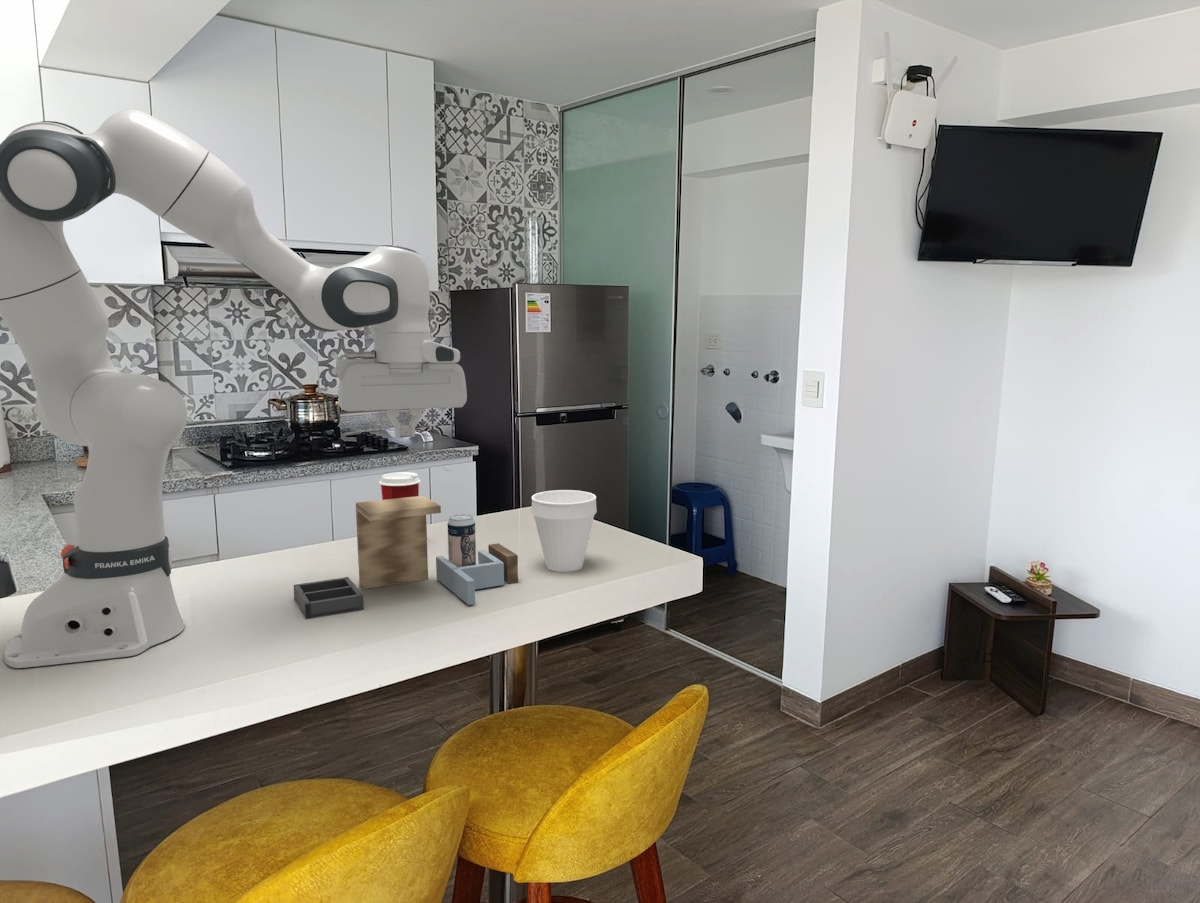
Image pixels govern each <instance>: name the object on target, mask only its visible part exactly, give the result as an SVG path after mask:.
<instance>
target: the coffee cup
mask: <svg viewBox="0 0 1200 903" xmlns="http://www.w3.org/2000/svg"><path fill="white" fill-rule="evenodd" d="M420 483H421V479H420V478H419V474H418V473H416V472H409V471H397V472H389V473H385V474H383V475H381V477H380V480H379V481H378V484H379V485H380V489H381V500H387V499H396V498H406V497H416V496H420V495H419V491H420V489H419V488H420V486H419V485H420Z"/></svg>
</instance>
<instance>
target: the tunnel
mask: <svg viewBox="0 0 1200 903" xmlns="http://www.w3.org/2000/svg"><path fill="white" fill-rule="evenodd" d="M441 507H442V506H441V505H439V504H438V503H436V502H435V501H433V500H431V499H430V498H429V497H426V496H425V495H419V496H416V497H406V498H396V499H387V500H382V499H378V500H377V499H376V500H370V501H369V500H367V501H360V502H355V516H356V517H355V518H356V522H355V523H356V538H357V540H356V541H357V559H358V560H357V561H358V562H357V563H358V565H357V566H358V583H359V590H366V589H372V588H378V587H385V586H392V585H397V584H405V583H410V582H418V581H424V580H425V581H426V580H429V562H428V558H429V557H428V535H427V534H428V531H427V530H428V529H427V516H428V515H432V514H433V515H434V514H442V512H441V510H442V509H441Z"/></svg>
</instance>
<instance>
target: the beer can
mask: <svg viewBox="0 0 1200 903" xmlns="http://www.w3.org/2000/svg"><path fill="white" fill-rule="evenodd" d="M447 543H448V544H447V547H448V548H447V550H448V554H447V555H448V560H449V561H450V562H451V563H453V564H454V565H455V566H456V567H464V566H471V565H477V551H476V550H477V548H476V547H477V545H476V544H477V542H476V521H475V519H474V518H473V516H472V515H471V514H455V515H451V516H450V517H449V519H448V521H447Z"/></svg>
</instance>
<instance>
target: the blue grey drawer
mask: <svg viewBox="0 0 1200 903" xmlns="http://www.w3.org/2000/svg"><path fill="white" fill-rule="evenodd" d="M477 558H478V559H477V562H478V564H476V565H471V566H464V567H456V566H455V565H454V564H453V563H451V562H450V561H449V559H448V558H446V557H445V556H444V555H438V556H435V570H436V579H437V580H438V581H439V582H441V583H442V584H443V585H444V586H445V587H447V588H448V589H449V590H450V591H451V592H452V593H453V594H454V595H456V596H457V597H458V598H459V599H460V600H461V601H462V602H464V603H465V605H466V604H467V606H470V605H475V604H476V590H479V589H480V590H481V589H485V588H493V587H498V586H504V585H505V582H504V563H503V562H502V561H500V560H499V559H497V558H496V557H494V556H493V555H491V554H490V553H489V551H488V550H485V549H482V550H478V551H477Z"/></svg>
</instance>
